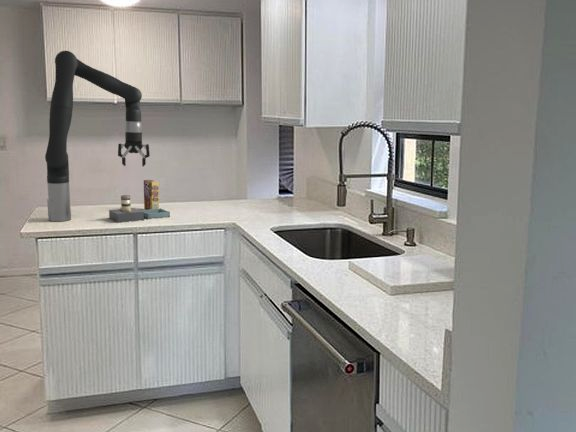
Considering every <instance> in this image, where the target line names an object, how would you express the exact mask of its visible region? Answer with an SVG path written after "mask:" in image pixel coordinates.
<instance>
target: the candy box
mask: <svg viewBox="0 0 576 432" xmlns="http://www.w3.org/2000/svg"><path fill="white" fill-rule="evenodd" d="M159 185H160V183H159V181H158V180H155V179H154V180H153V179H143V207H144V209H143V210H149V209H160V202H159V201H160V199H159V198H160V193H159V192H160V191H159V188H160V187H159Z"/></svg>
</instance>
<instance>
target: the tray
mask: <svg viewBox="0 0 576 432" xmlns="http://www.w3.org/2000/svg"><path fill="white" fill-rule="evenodd" d="M140 210H141V211H143V215H144V219H145V220H146V219H147V220H151V219H152V218H155V219H161V218H163V217H165V218H170V217H171V215H170V214H171V213H170V210H166V209H163V208H160V207H159V209H149V210H144V209H140ZM152 220H153V219H152Z"/></svg>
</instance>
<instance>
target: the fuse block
mask: <svg viewBox="0 0 576 432" xmlns="http://www.w3.org/2000/svg"><path fill="white" fill-rule="evenodd" d="M130 208H131V210H127V212H122V207H121V206H120V208H118V209H117V208H116V209H109V210H108V214H109V215H108V218H110V220H111V221H114V222H116V223H117V224H118V223H119V224H120V223H127V222H128V223H130V222H129V221H131V222H138V221H139V220H141V221H144V220H145V218H144V215H143V211H141V210H142V209H137V208H135V207H130ZM139 222H140V221H139Z"/></svg>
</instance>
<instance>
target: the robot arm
mask: <svg viewBox="0 0 576 432" xmlns="http://www.w3.org/2000/svg"><path fill="white" fill-rule="evenodd" d="M54 63H55V64H54V65H55V66H54V67H55V77H54V78H55V79H54V80H55V81H54V86H53V91H52V95H51V99H50V108H49V119H48V120H49V122H48V123H49V134H48V135H49V136H48V137H49V138H48V143H47V146H46V151H45V155H44V159H45V162H46V169H47V170H46V172H47V173H46V180H47V181H46V182H47V183H46V184H47V199H46V202H47V216H48V217H47V219H48V220H49V221H50V222H67V221H70V220H72V209H71V191H70V169H69V167H70V166H69V155H68V152H67V146H68V145H67V140H68V135H69V130H70V127H71V122H72V118H73V108H74V79H75V76H76V77H77V78H80V79H84V80H85V81H87V82H90V83H91V84H93V85H95V86H96V87H99V89H100V88H101V89H102V90H105V91H107V92H108V93H111V94H113V95H116V96H118V97H120V98H121V99H124V103H125V105H124V106H125V124H124V125H125V127H124V132H125V133H124V134H125V135H124V137H125V138H124V139H125V141H124V142H125V143H118V145H117V147H118V149H117V156H118V157H119V158H121V164H122V165H123V167H126V166H127V165H126V163H127V162H126V157H127V155H128V154H138V153H139V154H140V156H141V157H142V159H141V160H142V162H141V163H142V165H141V166H142V167H145V166H146V165H147V163H146V161H147V160H146V159H147V158H149V157H150V153H151V152H150V145H149V143H146V144H143V125H142V111H141V100H142V97H143V95H142V91H141V90H140V89H139V88H137V87H136V86H134V85H131V84H128V83H127V82H123V81H122V80H120V79H119V78H117V77H115V76H112V75H110V74H109V73H106V72H104V71H101V70H98V69H96V68H94V67H92V66H90V65H88V64H86V63H84V62H82V60H80V59H78V58H77V57H76V55H75V54H74V53H73V52H72V51H70V50H61V51H59V52H58V53H57V54H56V56H55V58H54ZM123 148H125V151H124V153H123V154H122V149H123ZM143 148H144V149H145V150H146V151H145V152H146V154H145V153H144V152H143V151H142V149H143Z"/></svg>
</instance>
